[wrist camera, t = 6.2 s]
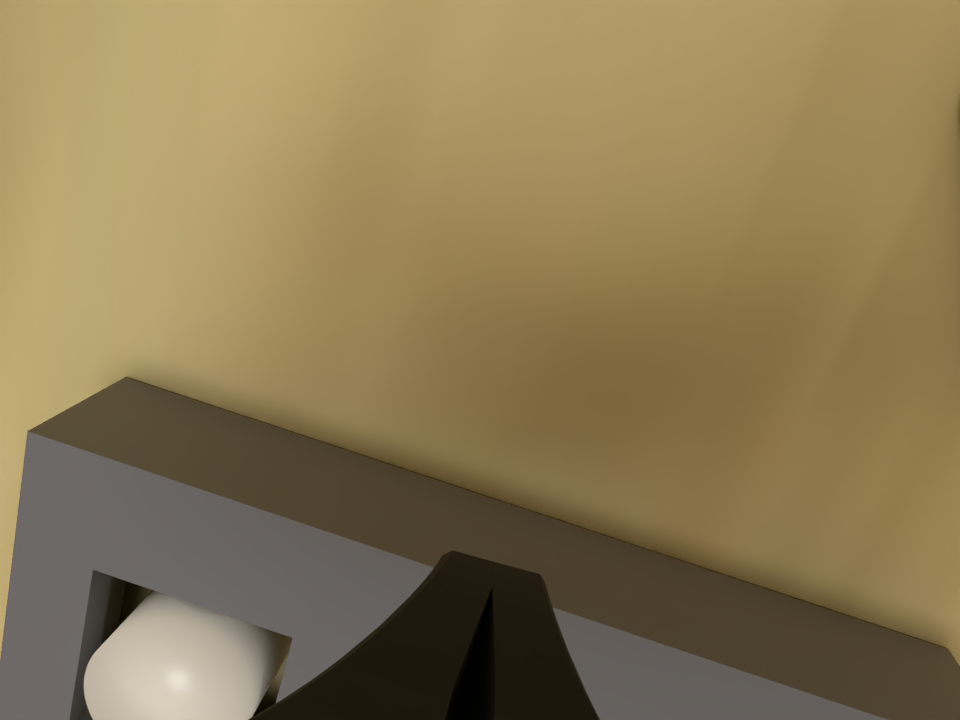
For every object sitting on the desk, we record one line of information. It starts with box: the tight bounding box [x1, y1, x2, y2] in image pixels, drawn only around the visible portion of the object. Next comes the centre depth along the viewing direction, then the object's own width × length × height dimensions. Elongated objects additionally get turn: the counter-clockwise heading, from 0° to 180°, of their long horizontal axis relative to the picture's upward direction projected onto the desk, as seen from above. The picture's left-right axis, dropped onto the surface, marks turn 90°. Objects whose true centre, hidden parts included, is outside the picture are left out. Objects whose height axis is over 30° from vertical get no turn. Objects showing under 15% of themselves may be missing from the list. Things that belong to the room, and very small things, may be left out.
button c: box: [84, 590, 292, 720], centre depth 21 cm, size 4×4×4 cm
